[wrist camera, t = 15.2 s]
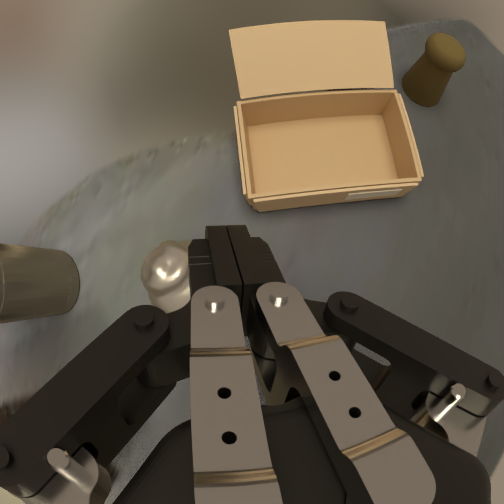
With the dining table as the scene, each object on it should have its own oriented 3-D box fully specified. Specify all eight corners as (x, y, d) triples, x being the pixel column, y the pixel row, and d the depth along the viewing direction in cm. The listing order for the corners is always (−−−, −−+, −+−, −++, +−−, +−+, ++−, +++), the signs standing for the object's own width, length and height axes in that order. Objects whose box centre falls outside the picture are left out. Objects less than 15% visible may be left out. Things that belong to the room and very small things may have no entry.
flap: (240, 98, 31) (228, 30, 27) (240, 98, 31) (228, 30, 27) (393, 87, 29) (384, 21, 25) (392, 87, 29) (383, 22, 25)
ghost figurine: (220, 227, 37) (196, 212, 27) (249, 305, 36) (235, 318, 26) (152, 255, 37) (110, 250, 27) (178, 329, 36) (143, 348, 27)
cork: (427, 114, 35) (462, 72, 24) (394, 85, 35) (418, 37, 24) (446, 92, 34) (479, 51, 23) (414, 65, 35) (439, 19, 24)
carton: (251, 215, 36) (244, 204, 30) (240, 125, 37) (233, 102, 31) (406, 197, 34) (426, 185, 28) (386, 112, 35) (399, 89, 29)
